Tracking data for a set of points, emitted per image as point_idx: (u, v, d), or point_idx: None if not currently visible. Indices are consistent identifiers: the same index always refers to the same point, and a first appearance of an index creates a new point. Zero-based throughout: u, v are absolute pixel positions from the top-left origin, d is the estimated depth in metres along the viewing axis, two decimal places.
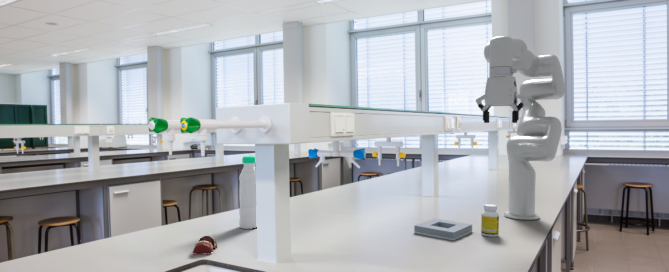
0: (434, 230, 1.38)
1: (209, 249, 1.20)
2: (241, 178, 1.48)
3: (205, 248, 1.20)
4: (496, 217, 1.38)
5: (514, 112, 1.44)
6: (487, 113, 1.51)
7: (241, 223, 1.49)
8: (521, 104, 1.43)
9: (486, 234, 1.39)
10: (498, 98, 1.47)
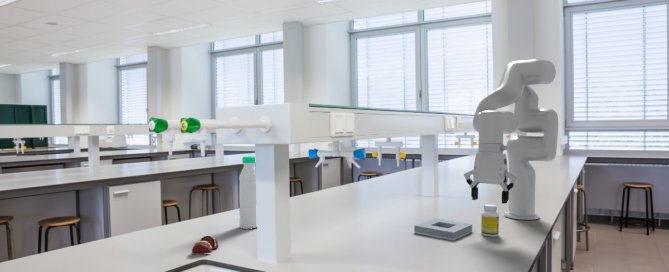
0: (434, 230, 1.38)
1: (207, 249, 1.20)
2: (241, 178, 1.48)
3: (203, 248, 1.20)
4: (496, 217, 1.38)
5: (504, 192, 1.36)
6: (476, 189, 1.43)
7: (241, 223, 1.49)
8: (511, 184, 1.35)
9: (486, 234, 1.39)
10: (487, 176, 1.38)
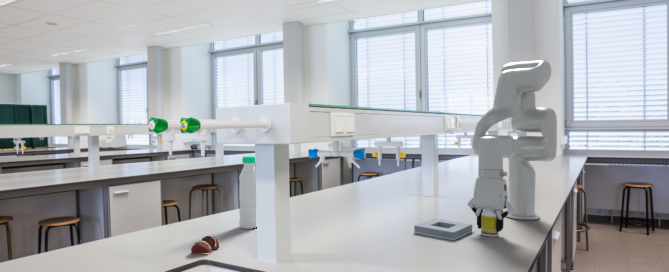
0: (434, 230, 1.38)
1: (205, 250, 1.19)
2: (241, 178, 1.48)
3: (201, 248, 1.19)
4: (496, 217, 1.38)
5: (498, 221, 1.38)
6: None
7: (241, 223, 1.49)
8: (506, 213, 1.36)
9: (486, 234, 1.39)
10: (487, 202, 1.39)
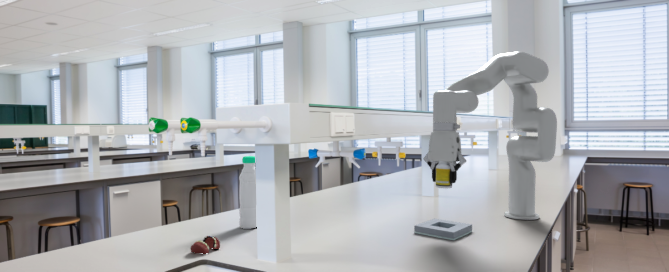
0: (434, 230, 1.38)
1: (202, 250, 1.19)
2: (241, 178, 1.48)
3: (199, 248, 1.20)
4: (450, 169, 1.41)
5: (451, 172, 1.40)
6: None
7: (241, 223, 1.49)
8: (458, 165, 1.39)
9: (440, 186, 1.42)
10: (441, 154, 1.41)
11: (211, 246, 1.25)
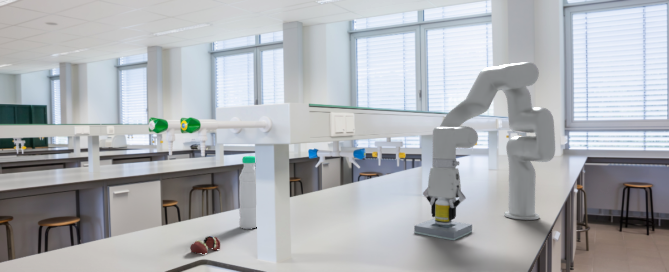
0: (434, 230, 1.38)
1: (201, 250, 1.19)
2: (241, 178, 1.48)
3: (198, 248, 1.20)
4: (449, 205, 1.41)
5: (451, 209, 1.41)
6: None
7: (241, 223, 1.49)
8: (457, 202, 1.39)
9: (439, 222, 1.42)
10: (440, 191, 1.42)
11: (212, 246, 1.25)
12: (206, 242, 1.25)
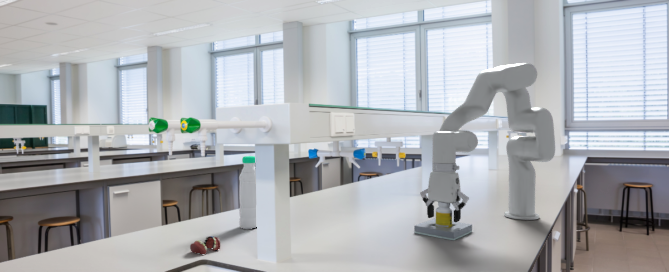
0: (434, 230, 1.38)
1: (199, 250, 1.19)
2: (241, 178, 1.48)
3: (196, 248, 1.20)
4: (449, 213, 1.41)
5: (455, 211, 1.40)
6: (431, 208, 1.46)
7: (241, 223, 1.49)
8: (462, 204, 1.38)
9: None
10: (440, 195, 1.42)
11: (212, 246, 1.25)
12: (207, 242, 1.25)
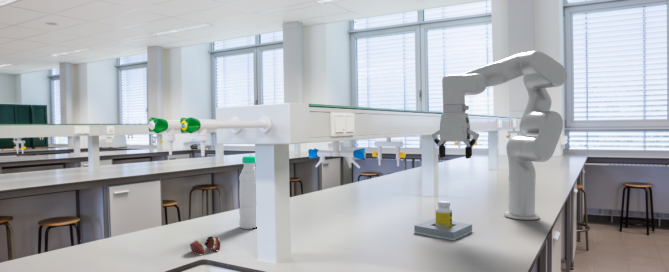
0: (434, 230, 1.38)
1: (197, 250, 1.19)
2: (241, 178, 1.48)
3: (195, 248, 1.20)
4: (449, 213, 1.42)
5: (467, 148, 1.49)
6: (443, 148, 1.56)
7: (241, 223, 1.49)
8: (473, 140, 1.48)
9: None
10: (452, 134, 1.51)
11: None
12: (208, 242, 1.25)
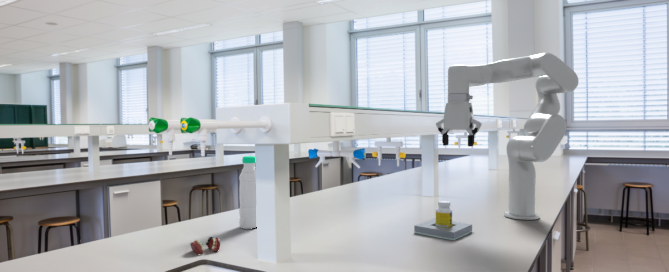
0: (434, 230, 1.38)
1: (195, 250, 1.19)
2: (241, 178, 1.48)
3: (194, 248, 1.20)
4: (449, 213, 1.42)
5: (469, 136, 1.54)
6: (446, 136, 1.61)
7: (241, 223, 1.49)
8: (476, 129, 1.52)
9: None
10: (455, 123, 1.56)
11: None
12: (209, 242, 1.25)
